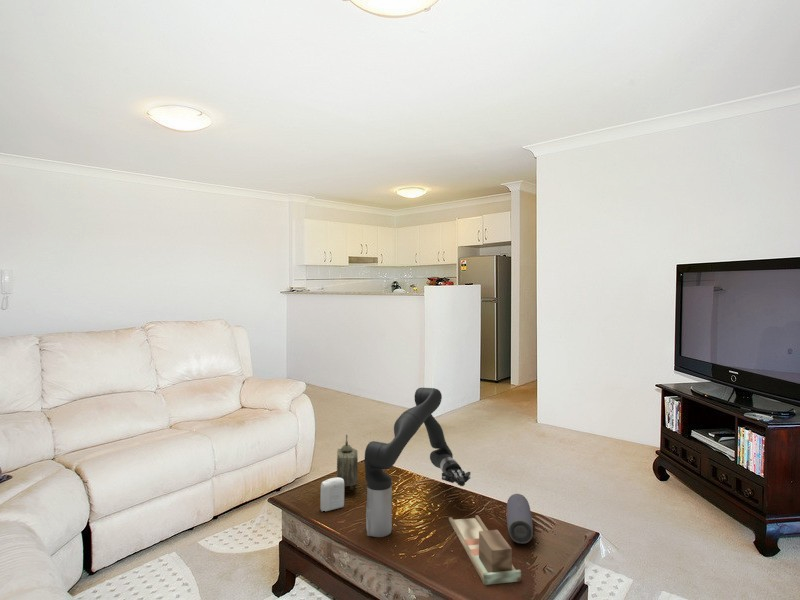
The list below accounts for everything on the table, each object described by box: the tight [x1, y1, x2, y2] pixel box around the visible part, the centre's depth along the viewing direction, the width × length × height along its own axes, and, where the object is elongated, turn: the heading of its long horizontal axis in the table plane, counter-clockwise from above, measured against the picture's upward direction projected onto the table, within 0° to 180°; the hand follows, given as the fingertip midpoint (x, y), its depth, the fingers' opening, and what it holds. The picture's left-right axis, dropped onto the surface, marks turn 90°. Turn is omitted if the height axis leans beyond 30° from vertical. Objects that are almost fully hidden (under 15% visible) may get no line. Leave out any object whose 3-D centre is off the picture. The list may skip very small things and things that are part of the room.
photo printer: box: [319, 476, 345, 512], centre depth 192 cm, size 10×4×12 cm, turn 123°
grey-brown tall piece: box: [336, 434, 359, 490], centre depth 210 cm, size 14×9×25 cm, turn 6°
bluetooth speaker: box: [505, 493, 534, 544], centre depth 173 cm, size 23×9×10 cm, turn 168°
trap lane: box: [448, 514, 522, 586], centre depth 162 cm, size 12×41×3 cm, turn 9°
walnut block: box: [479, 529, 513, 573], centre depth 150 cm, size 6×12×9 cm, turn 10°
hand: (462, 483), depth 183 cm, fingers closed
